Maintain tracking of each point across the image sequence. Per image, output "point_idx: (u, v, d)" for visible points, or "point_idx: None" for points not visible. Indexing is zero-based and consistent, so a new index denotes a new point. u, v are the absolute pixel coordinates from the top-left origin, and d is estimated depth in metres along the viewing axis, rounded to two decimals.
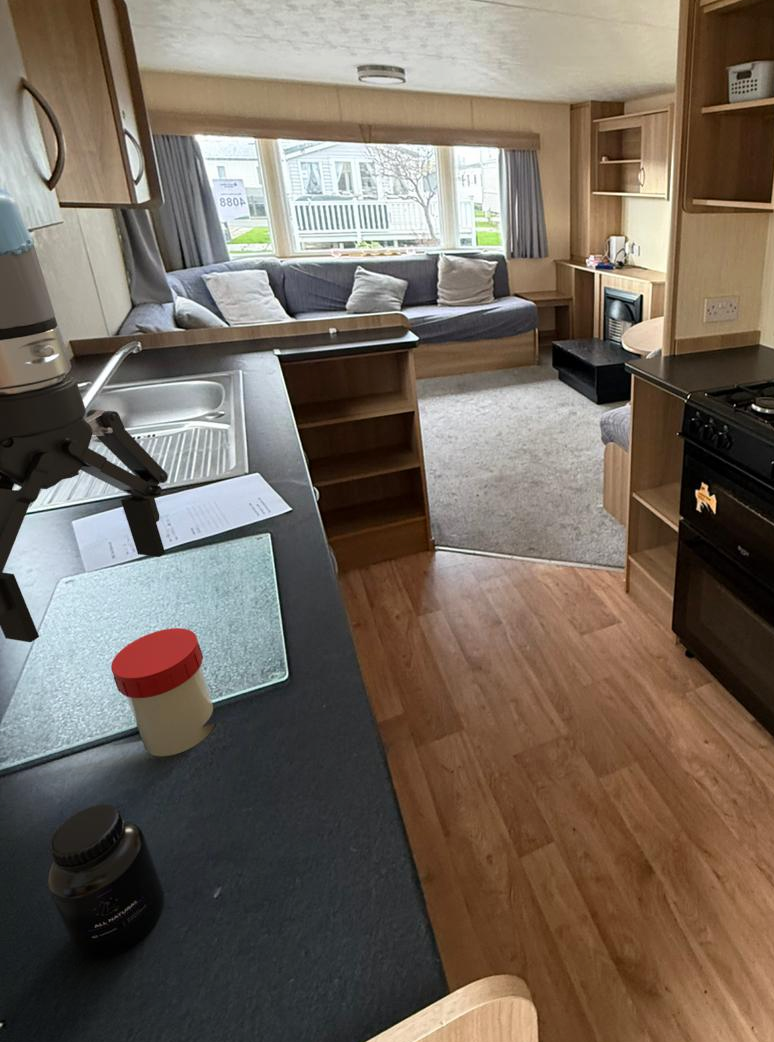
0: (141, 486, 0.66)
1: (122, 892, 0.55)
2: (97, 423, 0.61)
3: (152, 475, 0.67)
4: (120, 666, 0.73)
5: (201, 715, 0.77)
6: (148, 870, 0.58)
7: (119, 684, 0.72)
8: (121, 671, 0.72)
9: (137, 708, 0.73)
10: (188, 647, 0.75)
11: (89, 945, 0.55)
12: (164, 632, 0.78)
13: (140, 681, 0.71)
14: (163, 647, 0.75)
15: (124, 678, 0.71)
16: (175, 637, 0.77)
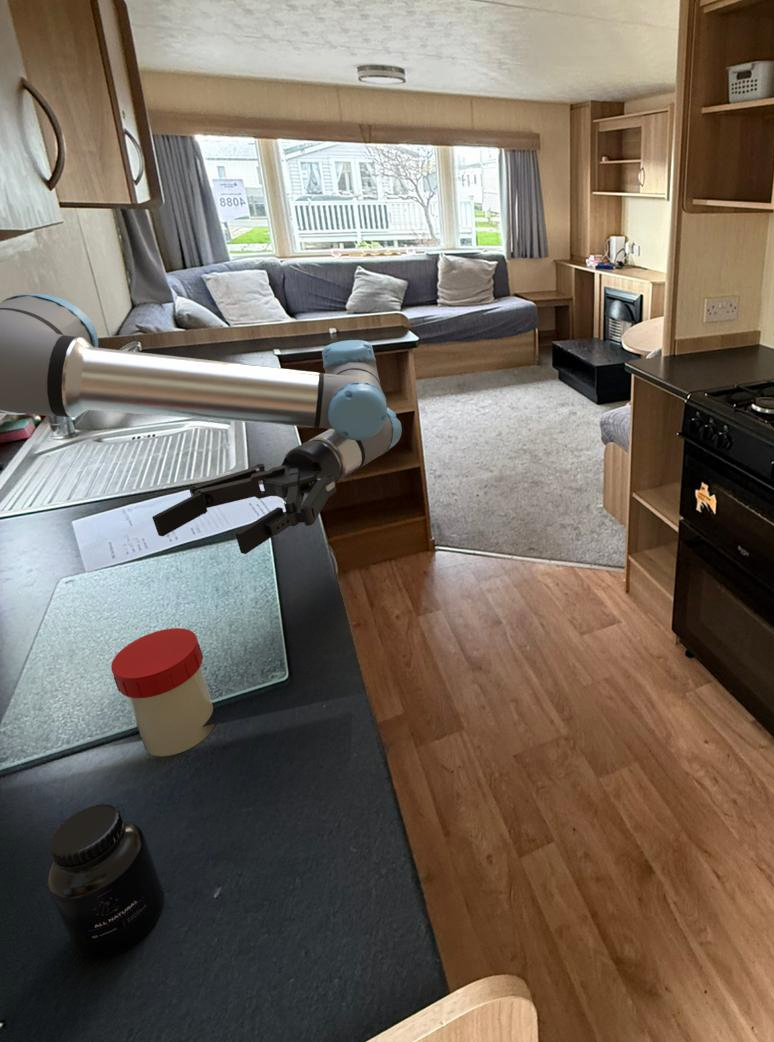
0: None
1: (122, 892, 0.55)
2: None
3: (208, 500, 0.89)
4: (120, 666, 0.73)
5: (201, 715, 0.77)
6: (148, 870, 0.58)
7: (119, 684, 0.72)
8: (121, 671, 0.72)
9: (137, 708, 0.73)
10: (188, 647, 0.75)
11: (89, 945, 0.55)
12: (164, 632, 0.78)
13: (140, 681, 0.71)
14: (163, 647, 0.75)
15: (124, 678, 0.71)
16: (175, 637, 0.77)
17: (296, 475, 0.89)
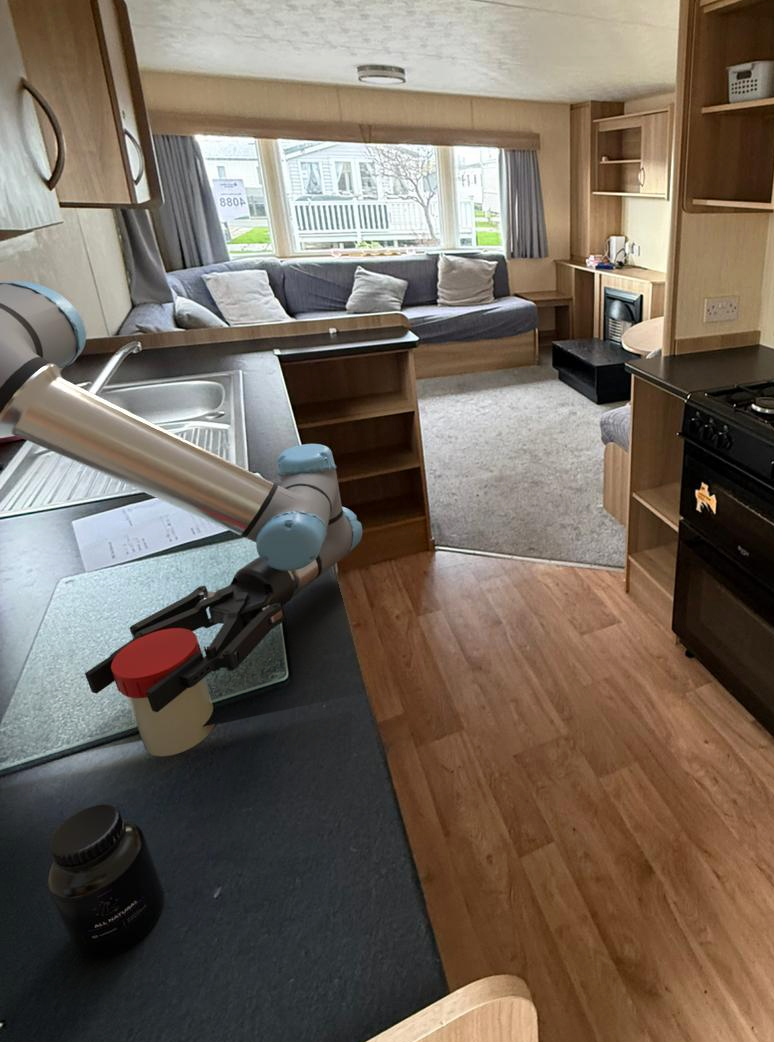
0: None
1: (122, 892, 0.55)
2: None
3: None
4: (120, 666, 0.73)
5: (201, 715, 0.77)
6: (148, 870, 0.58)
7: (119, 684, 0.72)
8: (121, 671, 0.72)
9: (137, 708, 0.73)
10: (188, 647, 0.75)
11: (89, 945, 0.55)
12: (164, 632, 0.78)
13: (140, 681, 0.71)
14: (163, 647, 0.75)
15: (124, 678, 0.71)
16: (175, 637, 0.77)
17: (241, 603, 0.83)
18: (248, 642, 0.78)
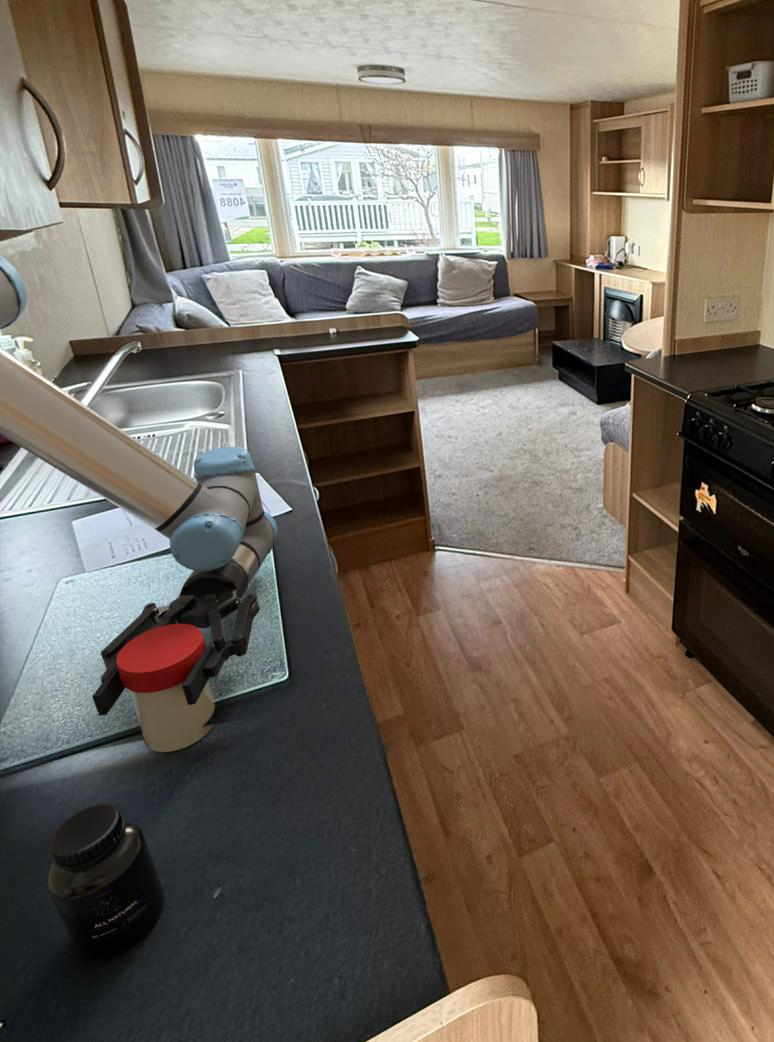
0: None
1: (122, 892, 0.55)
2: None
3: None
4: (136, 666, 0.72)
5: (204, 710, 0.78)
6: (148, 870, 0.58)
7: (144, 682, 0.72)
8: (143, 668, 0.72)
9: (142, 703, 0.73)
10: (194, 632, 0.77)
11: (89, 945, 0.55)
12: (148, 633, 0.77)
13: (173, 669, 0.73)
14: (165, 642, 0.76)
15: (155, 671, 0.71)
16: (167, 632, 0.77)
17: (214, 602, 0.85)
18: (247, 628, 0.82)
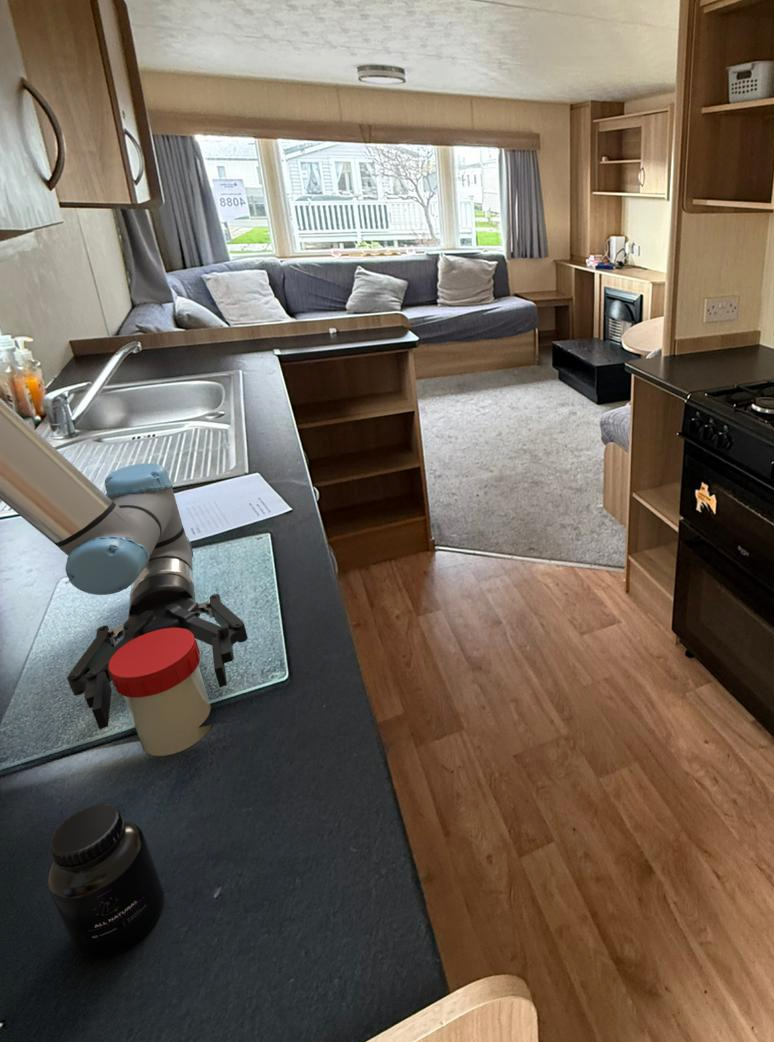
0: None
1: (122, 892, 0.55)
2: None
3: None
4: (139, 671, 0.72)
5: (203, 709, 0.78)
6: (148, 870, 0.58)
7: (151, 684, 0.72)
8: (148, 671, 0.72)
9: (142, 708, 0.73)
10: (181, 632, 0.78)
11: (89, 945, 0.55)
12: (129, 645, 0.76)
13: (178, 664, 0.74)
14: (154, 646, 0.76)
15: (162, 670, 0.72)
16: (150, 639, 0.77)
17: (181, 609, 0.85)
18: None
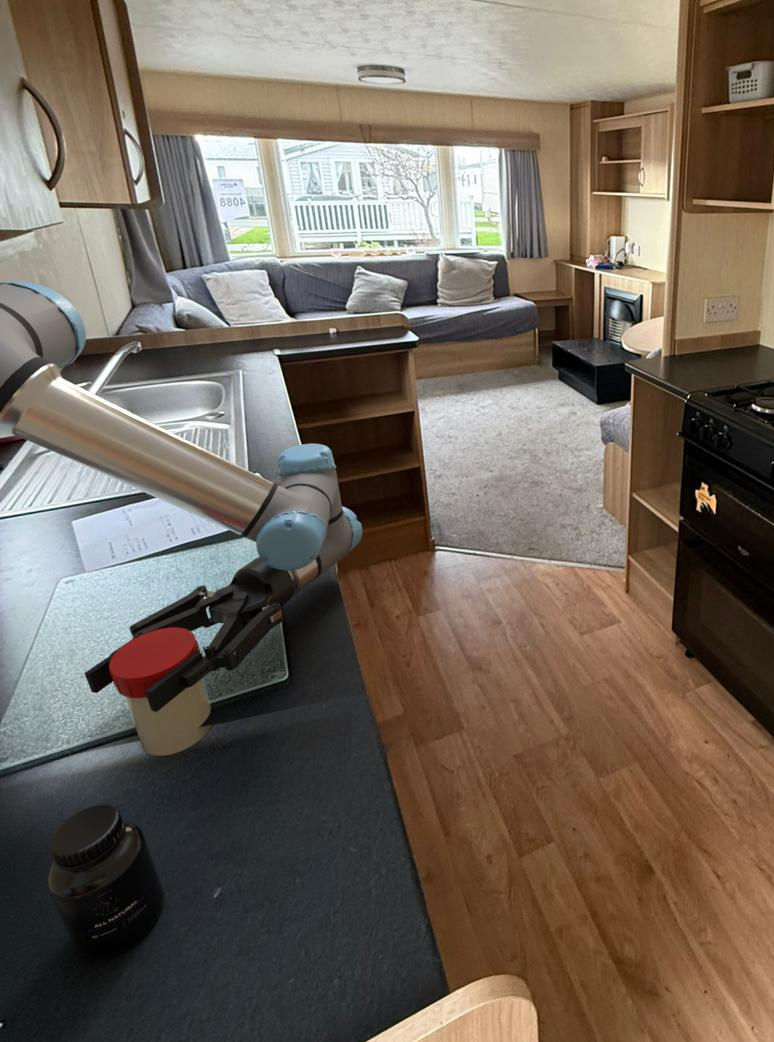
0: None
1: (122, 892, 0.55)
2: None
3: None
4: (140, 672, 0.72)
5: (204, 709, 0.78)
6: (148, 870, 0.58)
7: (152, 684, 0.72)
8: (150, 671, 0.72)
9: (142, 709, 0.73)
10: (182, 632, 0.78)
11: (89, 945, 0.55)
12: (130, 645, 0.76)
13: None
14: (155, 646, 0.75)
15: (163, 671, 0.72)
16: (151, 639, 0.77)
17: (241, 602, 0.83)
18: (247, 642, 0.78)
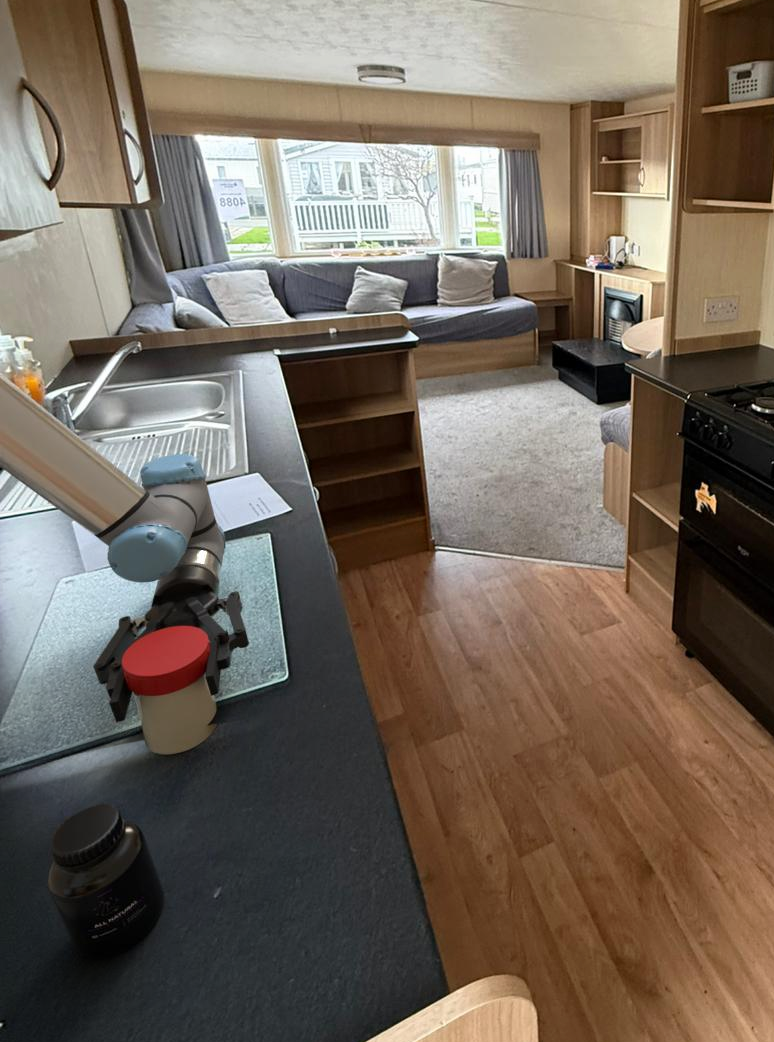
0: None
1: (122, 892, 0.55)
2: None
3: None
4: (179, 663, 0.73)
5: (214, 704, 0.79)
6: (148, 870, 0.58)
7: (195, 670, 0.74)
8: (189, 659, 0.74)
9: (161, 707, 0.73)
10: (173, 629, 0.78)
11: (89, 945, 0.55)
12: (129, 656, 0.73)
13: (208, 647, 0.76)
14: (161, 646, 0.75)
15: (202, 654, 0.75)
16: (146, 644, 0.75)
17: (198, 604, 0.85)
18: None
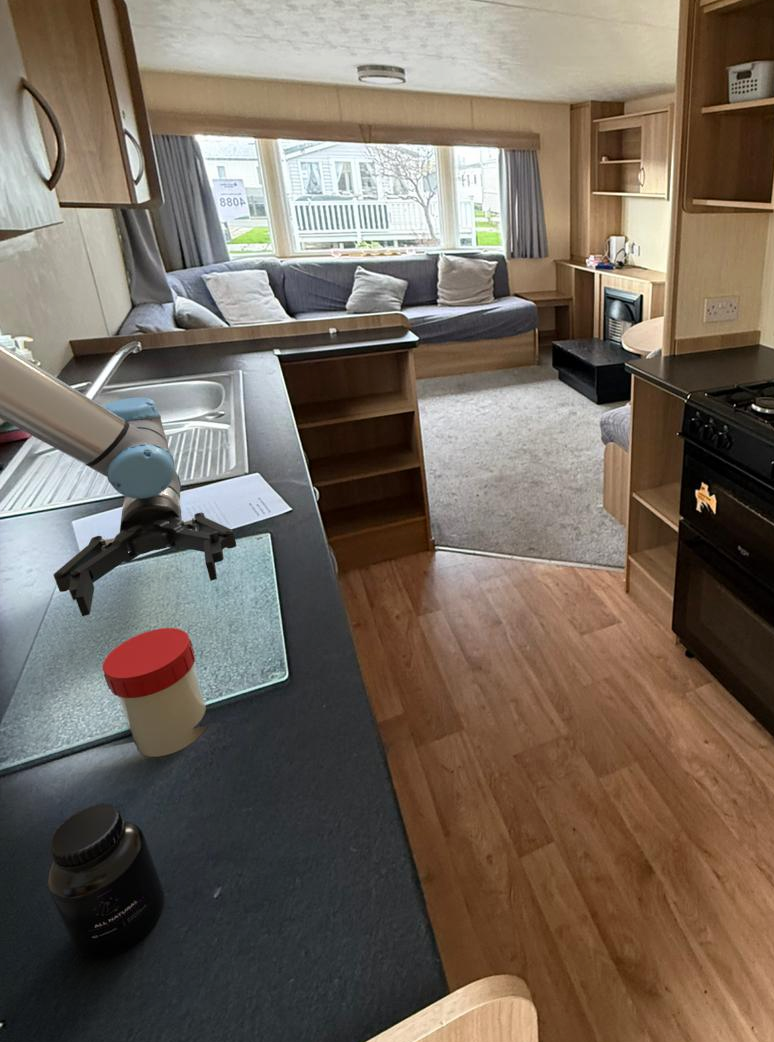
0: None
1: (122, 892, 0.55)
2: None
3: None
4: (163, 661, 0.73)
5: (202, 703, 0.79)
6: (148, 870, 0.58)
7: (179, 666, 0.74)
8: (172, 656, 0.74)
9: (146, 708, 0.73)
10: (151, 633, 0.78)
11: (89, 945, 0.55)
12: (109, 663, 0.73)
13: (190, 644, 0.77)
14: (141, 649, 0.75)
15: (184, 650, 0.75)
16: (125, 650, 0.75)
17: (169, 523, 0.93)
18: None
